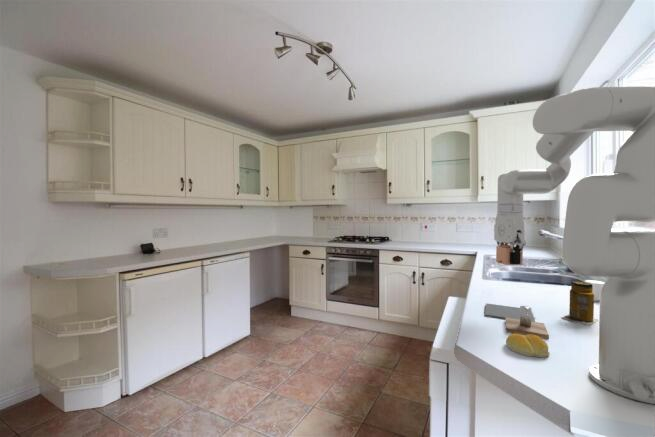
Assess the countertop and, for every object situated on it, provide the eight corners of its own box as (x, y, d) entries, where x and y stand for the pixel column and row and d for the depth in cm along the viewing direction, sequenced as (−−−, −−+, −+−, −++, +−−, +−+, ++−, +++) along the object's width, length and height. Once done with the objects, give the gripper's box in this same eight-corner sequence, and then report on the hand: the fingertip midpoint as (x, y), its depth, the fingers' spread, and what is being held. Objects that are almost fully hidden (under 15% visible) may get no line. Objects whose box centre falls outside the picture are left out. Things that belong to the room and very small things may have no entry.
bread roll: (502, 341, 81) (502, 327, 80) (540, 346, 78) (540, 331, 78) (511, 355, 73) (511, 339, 73) (554, 361, 70) (555, 344, 70)
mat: (535, 323, 93) (535, 321, 93) (484, 316, 100) (484, 314, 100) (530, 311, 105) (531, 309, 105) (486, 304, 112) (486, 303, 112)
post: (531, 328, 86) (531, 309, 86) (520, 326, 88) (520, 307, 88) (530, 324, 89) (531, 306, 89) (519, 323, 90) (519, 305, 90)
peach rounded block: (503, 264, 99) (503, 246, 99) (493, 261, 105) (494, 244, 104) (524, 264, 99) (525, 246, 99) (514, 261, 105) (514, 244, 104)
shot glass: (580, 297, 122) (580, 280, 121) (589, 295, 124) (589, 279, 124) (601, 302, 115) (602, 284, 115) (610, 300, 118) (610, 282, 118)
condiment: (598, 320, 96) (599, 283, 96) (589, 325, 91) (590, 287, 91) (570, 313, 102) (571, 279, 102) (560, 318, 97) (561, 282, 97)
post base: (548, 339, 81) (548, 335, 81) (506, 332, 86) (506, 328, 86) (543, 327, 90) (544, 323, 90) (505, 321, 95) (505, 317, 95)
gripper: (485, 209, 110) (484, 258, 110) (514, 209, 93) (514, 267, 93) (505, 209, 110) (504, 258, 110) (538, 209, 93) (537, 267, 93)
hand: (509, 261), depth 102 cm, fingers closed on peach rounded block, 5 cm apart
